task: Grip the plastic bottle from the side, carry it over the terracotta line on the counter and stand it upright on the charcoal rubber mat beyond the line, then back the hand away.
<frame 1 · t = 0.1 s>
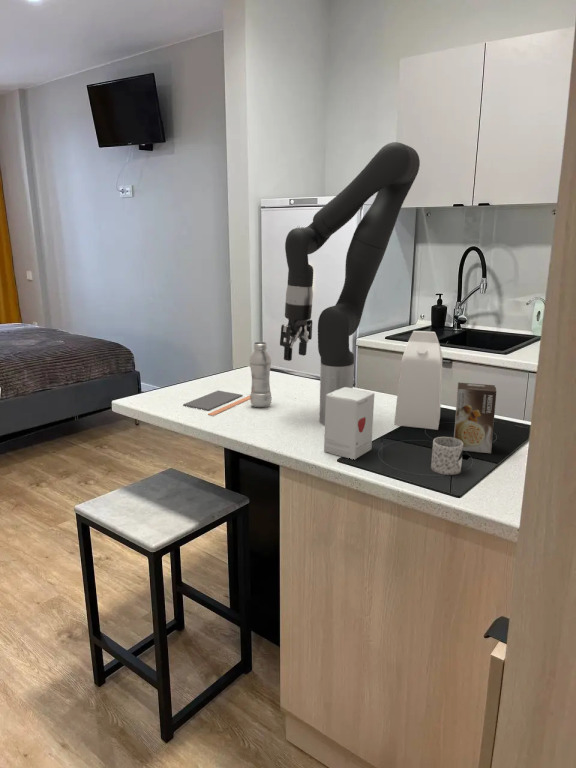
hand: (295, 357, 161), 17 cm above the worktop, tool pointing down, fingers open, 8 cm apart
brown food box: (471, 448, 141), on the worktop
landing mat: (213, 400, 177), on the worktop
supplement box: (348, 451, 138), on the worktop
milk: (417, 421, 160), on the worktop
mug: (443, 466, 130), on the worktop
foul line: (234, 404, 174), on the worktop
plastic bottle: (260, 407, 172), on the worktop
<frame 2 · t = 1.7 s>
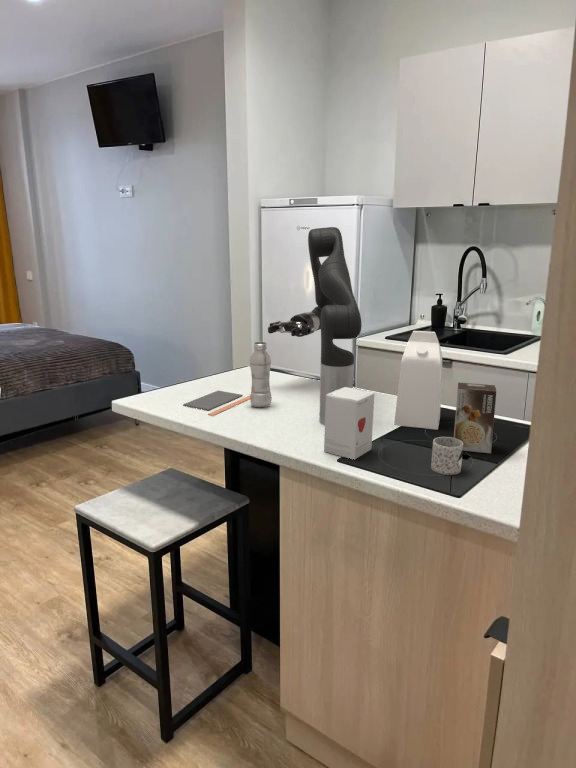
hand: (280, 331, 176), 22 cm above the worktop, tool horizontal, fingers open, 8 cm apart
nothing on the worktop moved.
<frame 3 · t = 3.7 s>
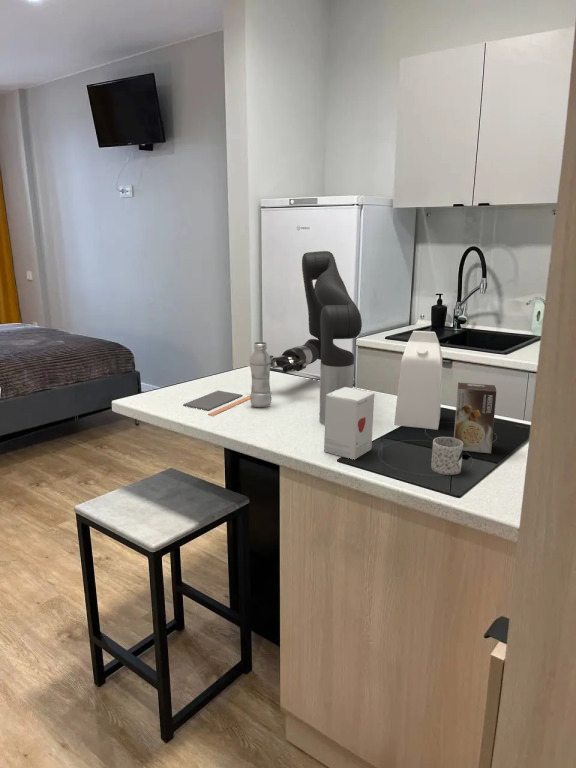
hand: (271, 367, 175), 11 cm above the worktop, tool horizontal, fingers open, 8 cm apart
nothing on the worktop moved.
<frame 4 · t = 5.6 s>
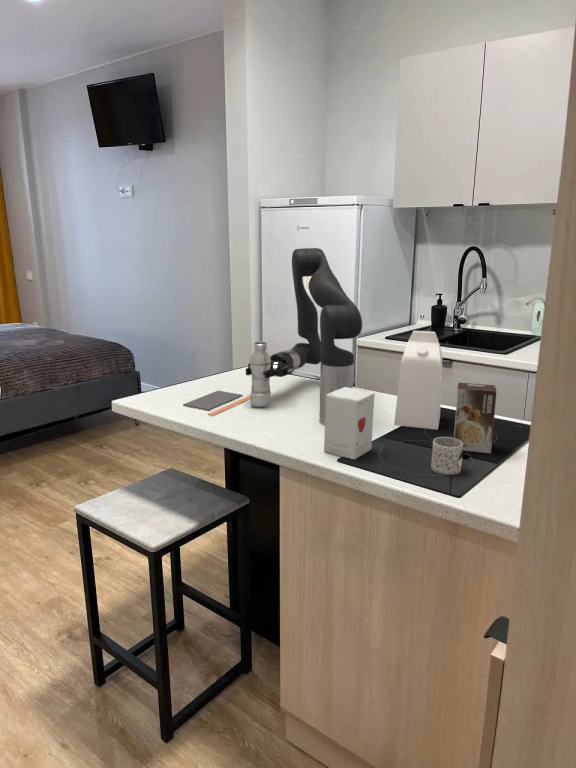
hand: (256, 373, 167), 11 cm above the worktop, tool horizontal, fingers closed on plastic bottle, 6 cm apart
plastic bottle: (260, 406, 172), on the worktop, touching gripper
everything else where it was.
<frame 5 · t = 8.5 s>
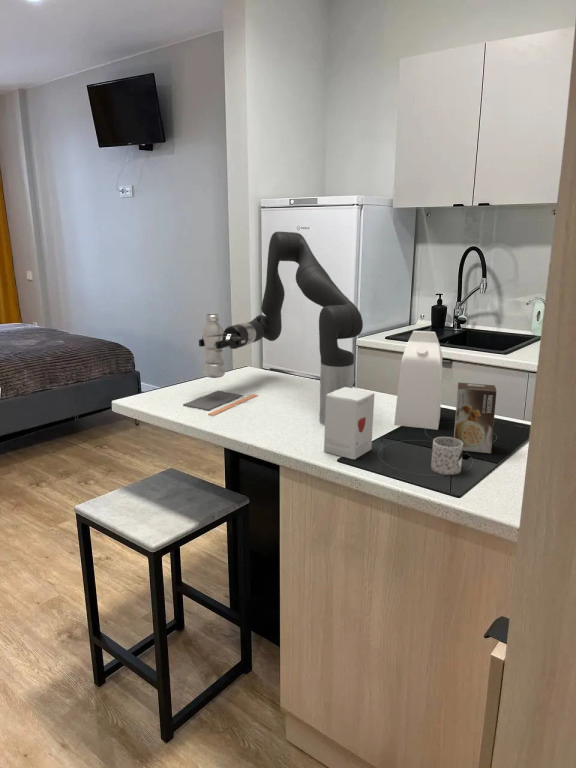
hand: (208, 344, 171), 19 cm above the worktop, tool horizontal, fingers closed on plastic bottle, 6 cm apart
plastic bottle: (214, 377, 176), point 8 cm above the worktop, touching gripper
everything else where it was.
when the fingers open (12 cm above the worktop, at t = 11.1 s): plastic bottle stays where it is, resting on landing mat.
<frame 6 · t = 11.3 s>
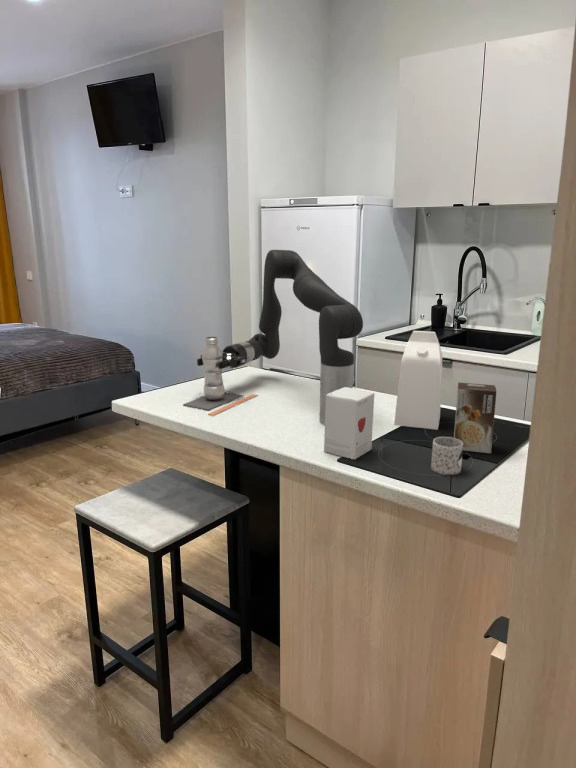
hand: (208, 364, 172), 12 cm above the worktop, tool horizontal, fingers open, 8 cm apart
plastic bottle: (214, 399, 177), resting on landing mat
everything else where it was.
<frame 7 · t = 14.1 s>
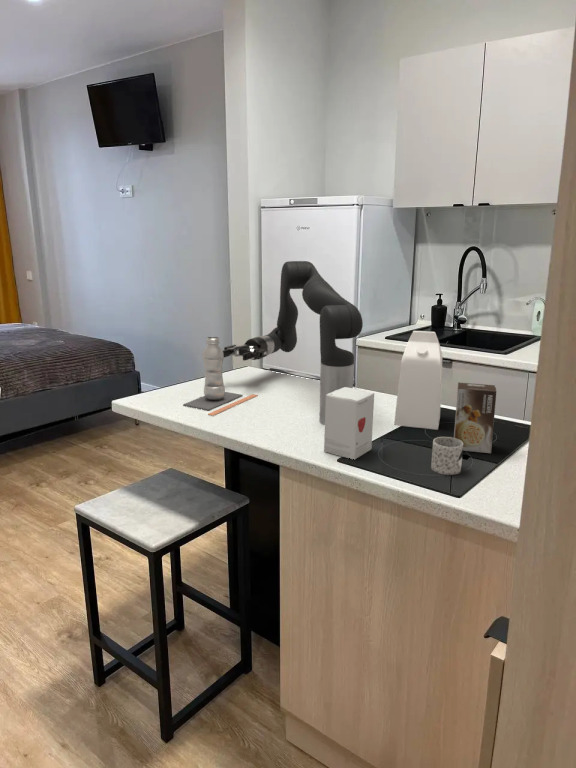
hand: (233, 355, 183), 13 cm above the worktop, tool horizontal, fingers open, 8 cm apart
nothing on the worktop moved.
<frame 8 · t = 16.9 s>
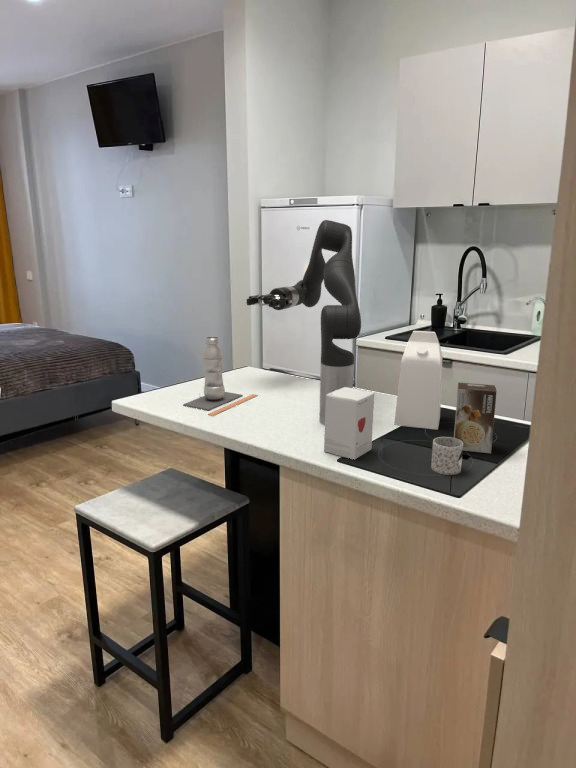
hand: (258, 303, 179), 30 cm above the worktop, tool horizontal, fingers open, 8 cm apart
nothing on the worktop moved.
at the end: plastic bottle inside the target area (1.7 cm from its centre), resting on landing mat; plastic bottle tilted 0°; the gripper is holding nothing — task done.
